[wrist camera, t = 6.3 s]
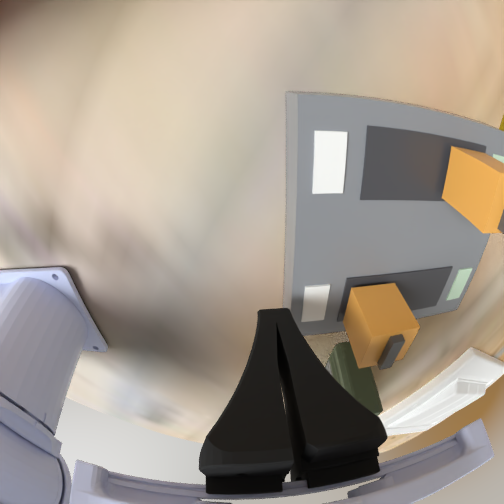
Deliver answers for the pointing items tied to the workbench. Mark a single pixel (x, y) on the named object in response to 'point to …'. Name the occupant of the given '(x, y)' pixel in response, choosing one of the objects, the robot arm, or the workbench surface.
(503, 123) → the medication box
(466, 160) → the breaker
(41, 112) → the workbench surface
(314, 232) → the box
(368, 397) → the handheld radio
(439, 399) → the vent cover
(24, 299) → the robot arm
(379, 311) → the breaker
